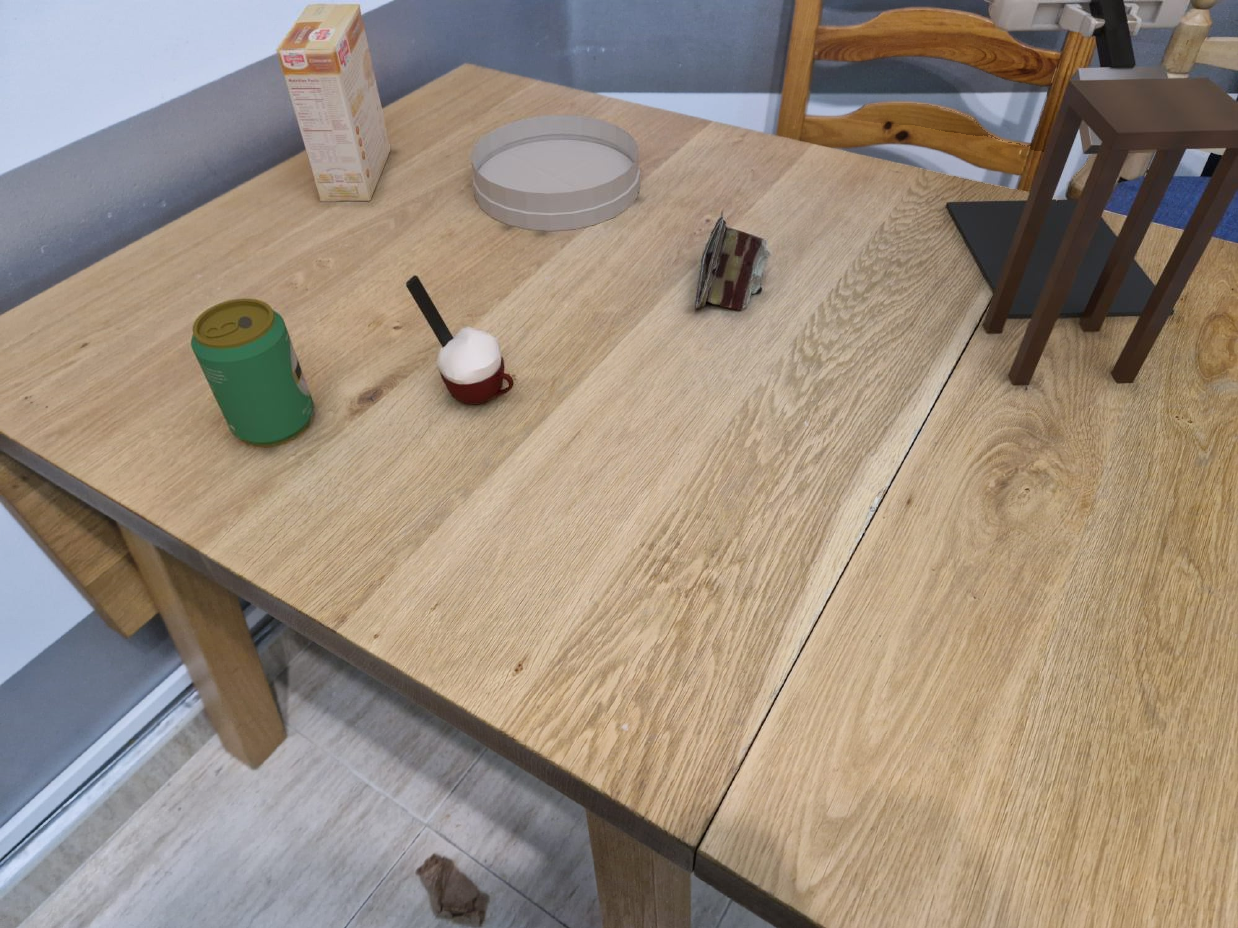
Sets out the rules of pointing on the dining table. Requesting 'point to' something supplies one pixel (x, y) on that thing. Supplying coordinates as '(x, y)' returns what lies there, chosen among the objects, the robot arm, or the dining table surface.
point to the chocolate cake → (730, 267)
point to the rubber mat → (1045, 256)
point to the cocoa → (464, 355)
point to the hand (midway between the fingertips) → (1114, 30)
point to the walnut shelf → (1130, 122)
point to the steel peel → (1113, 61)
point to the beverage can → (253, 371)
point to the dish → (555, 172)
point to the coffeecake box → (336, 100)
